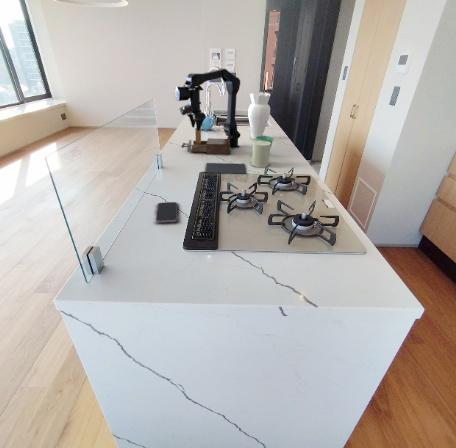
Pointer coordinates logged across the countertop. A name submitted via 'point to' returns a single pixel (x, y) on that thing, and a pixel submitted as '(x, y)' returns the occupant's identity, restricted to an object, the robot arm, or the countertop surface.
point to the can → (261, 153)
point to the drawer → (196, 146)
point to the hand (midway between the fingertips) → (195, 129)
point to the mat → (225, 168)
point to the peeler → (198, 136)
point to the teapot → (207, 123)
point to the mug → (265, 139)
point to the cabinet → (218, 146)
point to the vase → (258, 113)
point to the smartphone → (166, 212)
